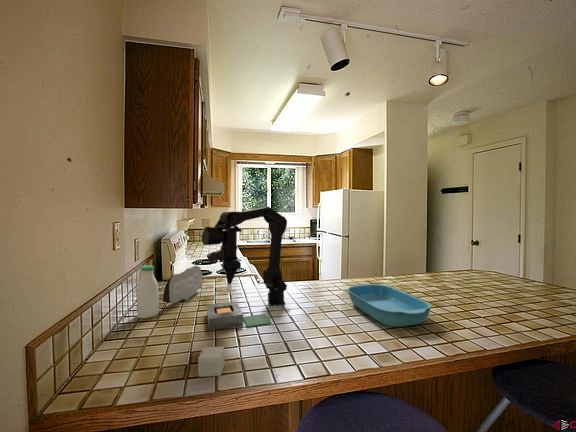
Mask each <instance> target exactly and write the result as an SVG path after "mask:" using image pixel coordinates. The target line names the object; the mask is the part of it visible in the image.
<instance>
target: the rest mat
mask: <svg viewBox="0 0 576 432" xmlns="http://www.w3.org/2000/svg"><path fill="white" fill-rule="evenodd" d="M243 323H244V324H245V326H246V328H253V327H258V326H267V325H271V324H272V321H271V320H270V318H269V317H268V316H267V314H266V313H261V314H254V315H248V316H243Z"/></svg>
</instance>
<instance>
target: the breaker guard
mask: <svg viewBox="0 0 576 432" xmlns="http://www.w3.org/2000/svg"><path fill="white" fill-rule="evenodd" d="M222 308H230V309H231V312H224V313H217V311H216V309H222ZM243 317H244V313H243V311H242V309H241V307H240V305H239V303H238V301H237V300H236V301H225V302H218V303H210V304H209V303H208V304H206V319H207V326H209V327H208V331H214V330H215V329H216V330H221V329H229V328H235V327H241V326H244V320H243ZM216 330H215V331H216Z"/></svg>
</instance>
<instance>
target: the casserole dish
mask: <svg viewBox="0 0 576 432" xmlns="http://www.w3.org/2000/svg"><path fill="white" fill-rule="evenodd" d="M347 292H348V295H349V299H350V301H351V302H352V304H353V305H355V307H357V308H358V309H359V310H361V311H362V312H363V313H365V314H367V315H369V316H370V317H371V318H373V319H374V320H375V321H377V322H379V323H380V324H383V325H384V326H387V327H393V328H399V327H407V326H413V325H418V324H422V323H424V322H425V321H426V320H427V318H428V315H430V314H429V313H430V311H431V308H432V305H431V304H430V303H429V302H427V301H425V300H424V299H420V298H418V297H416V296H414V295H412V294H409V293H406V292H404V291H402V290H400V289H398V288H395V287H393V286H390V285H386V284H385V285H384V284H370V283H361V284H356V285H353V286H349V287H348V288H347Z"/></svg>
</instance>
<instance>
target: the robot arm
mask: <svg viewBox="0 0 576 432" xmlns="http://www.w3.org/2000/svg"><path fill="white" fill-rule="evenodd" d="M262 217H263V219H264V221H265V222H266V223H267V225H268V231H269V233H270V245H269V246H270V247H269V257H268V258H269V259H268V266H267V268H266V270H263V273H262V275H263V276H262V280H263V284H264V285H265V287H266V289H267V290H268V292H267V302H268V303H269V305H270V306H279V305H285V304H286V302H285V293H284V292H285V291H286V290H287V288H288V284H287V283H285V282H284V280H283V274H282V271H281V267H280V263H281V261H280V260H281V254H282V253H281V252H282V240H283V239H282V238H283V234H285V232H286V229H287V226H288V219H286V217H285V215H284V216H283V215H282V214H280V213H278V212H277V211H275V210H274V209H273V208H271V207H270V206H262V207H259V208H255V209H249V210H244V211H223V212H222V213H221V214H220V215H219V219H218V220H217V222H216V223H215V225H214V226H204V230H203V231H202V234H201V242H202V244H203V245H204V246H212V245H213V246H215V245H220V244H221V246H220V249H219V250H216V251H212V252H210V253H207V255H206V257H207V261H208V263H209V265H212V264H214V263H215V262H219V263H221V264H220V267H221V268H222V269H223V270H224V273H225V277H226V283H227V282H228V284H231V285H232V282H233V280H234V278H235V275H236V273H237V271H238V269H241V268H242V265H241V261H239V260H238V256H237V254H238V252H237V251H238V243H237V242H238V239H237V237H238V235H237V234H238V232H239V233H240V232H242V229H241V228H240V227H239V226H238V225H241V224H243V222H245V221H249V220H250V221H251V220H253V219H258V218H262Z"/></svg>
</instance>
